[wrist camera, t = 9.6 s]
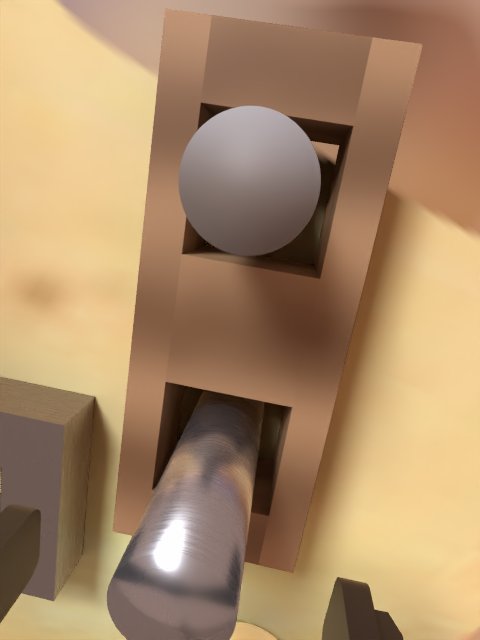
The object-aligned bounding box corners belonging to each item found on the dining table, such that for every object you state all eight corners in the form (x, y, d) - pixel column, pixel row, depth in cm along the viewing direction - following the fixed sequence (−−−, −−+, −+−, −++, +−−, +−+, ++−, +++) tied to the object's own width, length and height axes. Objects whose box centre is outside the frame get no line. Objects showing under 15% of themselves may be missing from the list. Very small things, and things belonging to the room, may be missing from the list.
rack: (193, 54, 17) (93, -108, 8) (392, 83, 16) (504, -60, 8) (143, 475, 22) (49, 643, 14) (292, 508, 22) (294, 705, 13)
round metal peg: (204, 370, 20) (112, 540, 10) (269, 383, 20) (247, 571, 10) (195, 428, 21) (101, 643, 11) (258, 441, 21) (225, 674, 10)
